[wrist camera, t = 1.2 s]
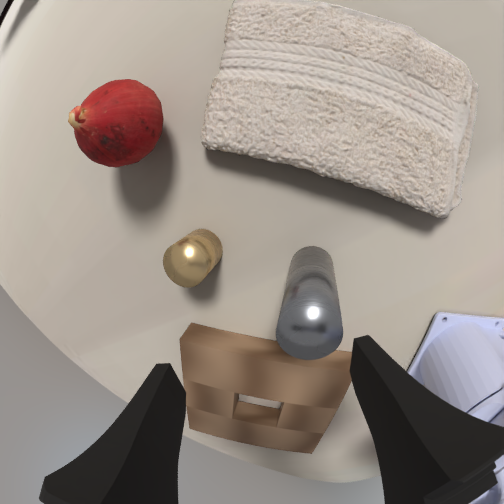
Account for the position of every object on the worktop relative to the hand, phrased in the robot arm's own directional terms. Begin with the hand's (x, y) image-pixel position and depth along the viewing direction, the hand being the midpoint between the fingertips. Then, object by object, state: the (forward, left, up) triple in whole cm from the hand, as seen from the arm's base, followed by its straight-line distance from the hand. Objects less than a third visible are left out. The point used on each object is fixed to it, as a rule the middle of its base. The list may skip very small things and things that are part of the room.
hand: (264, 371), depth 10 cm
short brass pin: (+6, 0, -10) cm, 12 cm away
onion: (+11, -9, -10) cm, 18 cm away
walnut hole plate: (0, +14, -10) cm, 17 cm away
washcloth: (-3, -12, -11) cm, 17 cm away
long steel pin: (-2, 0, -10) cm, 10 cm away
